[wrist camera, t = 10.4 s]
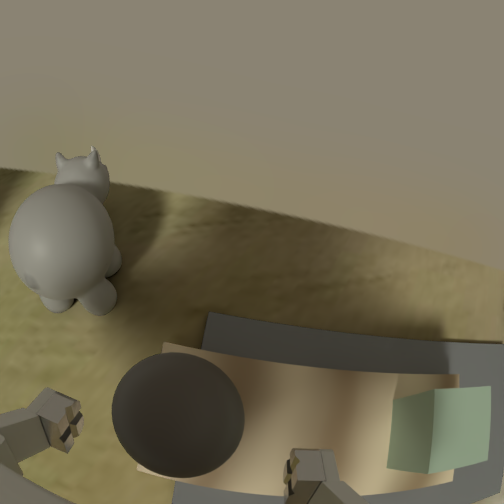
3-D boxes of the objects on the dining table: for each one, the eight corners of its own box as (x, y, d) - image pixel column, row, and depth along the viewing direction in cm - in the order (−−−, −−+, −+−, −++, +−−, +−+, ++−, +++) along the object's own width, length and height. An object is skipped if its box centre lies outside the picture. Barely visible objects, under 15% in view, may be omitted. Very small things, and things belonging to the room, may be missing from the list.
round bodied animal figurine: (150, 192, 26) (133, 110, 18) (121, 329, 19) (70, 271, 12) (78, 192, 25) (47, 119, 18) (38, 316, 19) (-29, 260, 12)
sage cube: (386, 468, 14) (428, 474, 10) (393, 399, 16) (434, 389, 12) (442, 460, 14) (487, 460, 10) (446, 398, 16) (490, 385, 12)
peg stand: (143, 466, 14) (30, 512, 4) (168, 347, 19) (100, 237, 8) (440, 479, 14) (581, 475, 4) (447, 378, 18) (579, 315, 8)
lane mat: (170, 513, 13) (169, 515, 13) (209, 313, 21) (208, 311, 20) (497, 492, 13) (500, 492, 13) (502, 345, 21) (505, 344, 20)
